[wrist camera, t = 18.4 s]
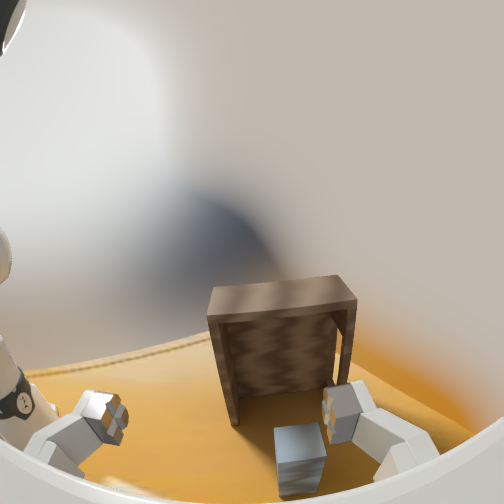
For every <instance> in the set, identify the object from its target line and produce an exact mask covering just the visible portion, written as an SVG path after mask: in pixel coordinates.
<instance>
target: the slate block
mask: <svg viewBox="0 0 504 504" xmlns="http://www.w3.org/2000/svg"><path fill="white" fill-rule="evenodd" d="M274 440H275V455H276V470H277V479H278V489H279V497H286V496H294V495H301V494H308V493H314V492H317V489H318V486H319V483H320V479H321V476H322V472H323V469H324V465H325V461H326V457H327V454H326V450H325V446H324V443H323V439H322V435H321V431H320V427H319V424H318V422H313V423H307V424H300V425H293V426H285V427H276V428H274Z"/></svg>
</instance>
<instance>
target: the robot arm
mask: <svg viewBox="0 0 504 504" xmlns="http://www.w3.org/2000/svg"><path fill="white" fill-rule="evenodd" d="M26 3H27V0H0V56H1V55H2V54H3V53H4V52H5V51H6V49H7V47H8V45H9V43H10V42H11V41H12V39H13V38H14V36H15V34H16V32H17V31H18V29H19V27H20V25H21V23H22V20H23V17H24V14H25V10H26ZM11 262H12V256H11V248H10V244H9V241H8V239H7V237H6V235H5V233H4V232H3V231H2V229H1V228H0V284H1V283H3V282H4V281H5V280H6V279H7V278H8V277H9V274H10V270H11ZM323 397H324V400H323V401H322V407H321V408H322V417H323V421H324V424H326V425H327V431H326V432H327V436H328V439H329V443H330V445H332V444H337V443H342V442H347V441H351V440H352V442H353V443H354V444H355V445H357V446H358V447H359V448H360V449H362V450H363V451H364V452H365V453H367V454H368V455H369V456H371V457H372V458H373V459H374V460H376V461H377V462H378V463H380V464H381V465H380V467H379V469H378V470H377V472H376V473H375V475H374V476H373V479H374V483H371V484H368V485H364V486H361V487H357V488H354V489H350V490H346V491H342V492H338V493H333V494H329V495H324V496H319V497H313V498H307V499H301V500H293V501H285V502H275V503H262V504H504V416H503V417H501V418H500V419H499V420H497V421H496V422H494V423H493V424H491V425H490V426H489V427H487V428H486V429H484V430H483V431H481V432H480V433H478V434H477V435H475V436H473V437H472V438H470V439H469V440H467V441H465V442H464V443H462V444H460V445H458V446H457V447H455V448H453V449H451V450H449V451H448V452H446V453H444V454H442V455H440V454H439V452H438V450H437V449H436V447H435V445H434V443H433V441H432V440H431V438H430V436H429V434H428V432H427V431H425V430H423V429H421V428H419V427H417V426H415V425H413V424H411V423H409V422H407V421H405V420H403V419H401V418H399V417H397V416H395V415H393V414H392V413H390V412H388V411H386V410H384V409H382V408H378V409H377V407H376V405H375V403H374V401H373V399H372V397H371V395H370V393H369V391H368V389H367V387H366V385H365V383H364V381H363V380H359V381H355V382H350V383H345V384H341V385H336V386H331V387H326V388H324V390H323ZM120 402H121V399H120V397H119V396H118V395H117V394H112V393H106V392H101V391H94V390H89V389H87V390H86V391H85V392H84V393H83V395H82V396H81V398H80V400H79V401H78V403H77V405H76V407H75V408H74V410H73V412H72V413H71V414H70V413H68V414H67V415H65V416H63V417H61V418H59V417H58V410H57V407H56V406H55V405H54V404H51V403H48V402H47V400H46V399H45V398H44V397H43V395H42V394H41V393H40V391H39V390H38V389H37V387H36V386H35V385H34V384H30V383H29V382H28V380H27V378H26V376H25V374H24V373H23V372H22V370H21V369H20V368H19V367H18V366H17V365H16V364H15V362H14V360H13V358H12V356H11V354H10V352H9V350H8V348H7V346H6V344H5V342H4V340H3V338H2V336H1V335H0V504H205V503H192V502H182V501H174V500H167V499H160V498H154V497H149V496H144V495H139V494H134V493H130V492H126V491H122V490H118V489H114V488H110V487H107V486H104V485H100V484H97V483H94V482H91V481H88V480H85V479H84V477H85V474H84V472H83V471H82V470H81V469H80V468H79V467H78V465H79V464H81V463H82V462H83V461H84V460H85V459H86V458H88V457H89V456H90V455H91V454H92V453H93V452H94V451H96V450H97V449H98V448H99V447H100V446H101V445H102V444H103V443H106V444H112V445H117V446H120V443H121V440H122V438H123V435H124V434H123V432H122V430H123V429H124V428H126V427H127V424H128V418H129V415H128V412H127V409H126V408H125V407H124V406H123V405H122V404H121V403H120Z"/></svg>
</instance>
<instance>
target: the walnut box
mask: <svg viewBox="0 0 504 504" xmlns="http://www.w3.org/2000/svg"><path fill="white" fill-rule="evenodd" d="M356 311H357V298H356V297H355V295H354V294H353V293H352V292H351V291H350V289H349V288H348V287H347V286H346V284H345V283H344V282H343V281H342V279H341V278H340V277H339V276H338V275H332V276H323V277H315V278H306V279H296V280H287V281H278V282H267V283H256V284H245V285H234V286H223V287H214V288H213V292H212V296H211V299H210V303H209V308H208V312H207V320H208V325H209V331H210V336H211V340H212V345H213V350H214V355H215V359H216V364H217V368H218V373H219V377H220V382H221V386H222V390H223V394H224V398H225V402H226V407H227V410H228V414H229V418H230V422H231V426H239V397H248V396H261V395H271V394H281V393H289V392H297V391H304V390H310V389H317V388H323V387H331V386H335V384H334V381H333V379H332V378H333V370H334V361H335V350H336V340H337V327H338V329H339V331H340V333H341V335H342V346H341V355H340V363H339V371H338V378H337V385H341V384H345V383H347V379H348V373H349V367H350V360H351V354H352V346H353V338H354V330H355V321H356Z"/></svg>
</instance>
